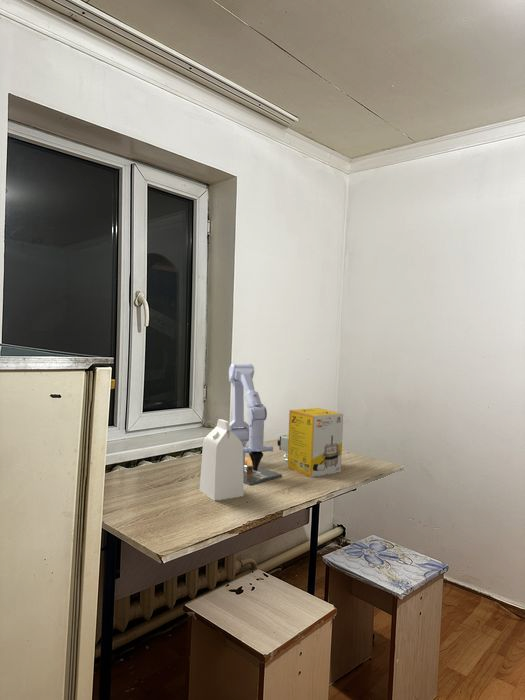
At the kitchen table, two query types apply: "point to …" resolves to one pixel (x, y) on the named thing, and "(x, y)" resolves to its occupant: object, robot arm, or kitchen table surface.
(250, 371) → the robot arm
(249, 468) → the bar
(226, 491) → the milk
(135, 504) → the kitchen table surface
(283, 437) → the pneumatic valve
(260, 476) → the label
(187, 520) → the kitchen table surface
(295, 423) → the packaging box
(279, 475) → the panel
